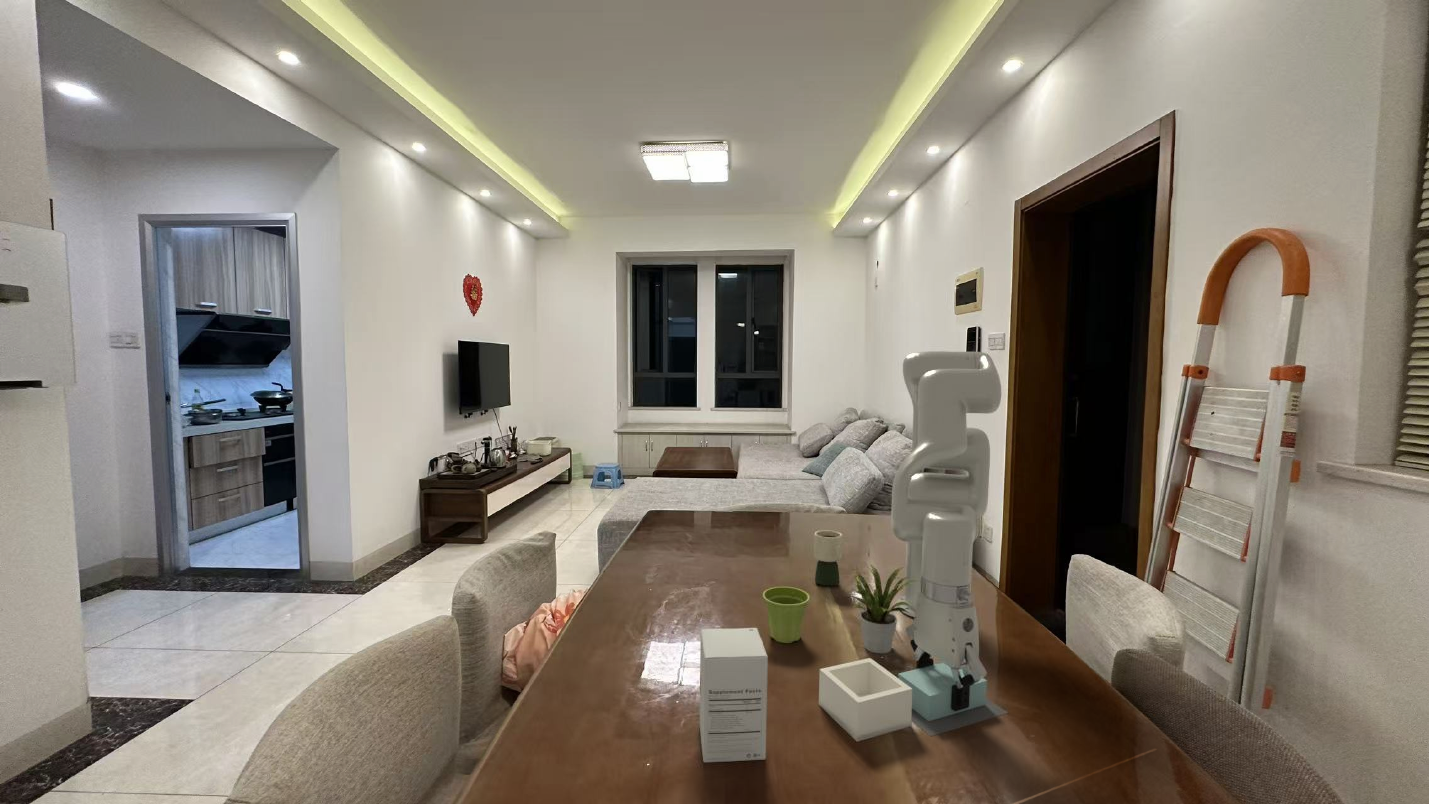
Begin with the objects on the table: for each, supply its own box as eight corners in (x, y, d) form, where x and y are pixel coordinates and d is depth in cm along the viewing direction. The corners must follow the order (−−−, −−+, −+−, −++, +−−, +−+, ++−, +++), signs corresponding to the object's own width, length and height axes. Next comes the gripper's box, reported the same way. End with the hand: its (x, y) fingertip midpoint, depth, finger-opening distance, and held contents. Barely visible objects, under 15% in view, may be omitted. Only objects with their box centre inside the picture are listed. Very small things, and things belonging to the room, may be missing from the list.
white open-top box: (869, 692, 95) (870, 658, 95) (911, 727, 86) (912, 688, 86) (818, 705, 91) (819, 669, 91) (856, 742, 82) (858, 702, 82)
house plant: (921, 638, 116) (924, 559, 115) (923, 671, 103) (926, 583, 102) (850, 627, 120) (852, 551, 119) (843, 657, 107) (845, 572, 106)
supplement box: (698, 723, 86) (699, 627, 86) (756, 721, 87) (758, 626, 86) (701, 764, 77) (703, 657, 76) (766, 761, 78) (769, 655, 77)
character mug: (851, 590, 141) (852, 538, 141) (826, 593, 139) (827, 541, 138) (828, 575, 152) (829, 527, 151) (804, 578, 149) (805, 529, 149)
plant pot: (807, 650, 110) (808, 606, 109) (759, 645, 112) (760, 601, 111) (809, 629, 119) (810, 588, 119) (764, 624, 121) (765, 584, 120)
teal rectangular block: (952, 682, 98) (953, 660, 98) (986, 704, 92) (986, 680, 92) (897, 697, 94) (898, 673, 93) (928, 721, 87) (929, 696, 87)
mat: (950, 676, 101) (950, 675, 101) (1008, 713, 90) (1008, 712, 90) (877, 694, 95) (877, 693, 95) (930, 737, 84) (930, 736, 84)
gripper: (1008, 606, 85) (1003, 721, 86) (924, 568, 101) (921, 665, 102) (971, 614, 82) (966, 732, 83) (890, 574, 98) (887, 673, 99)
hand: (941, 694), depth 93 cm, fingers closed on teal rectangular block, 7 cm apart
